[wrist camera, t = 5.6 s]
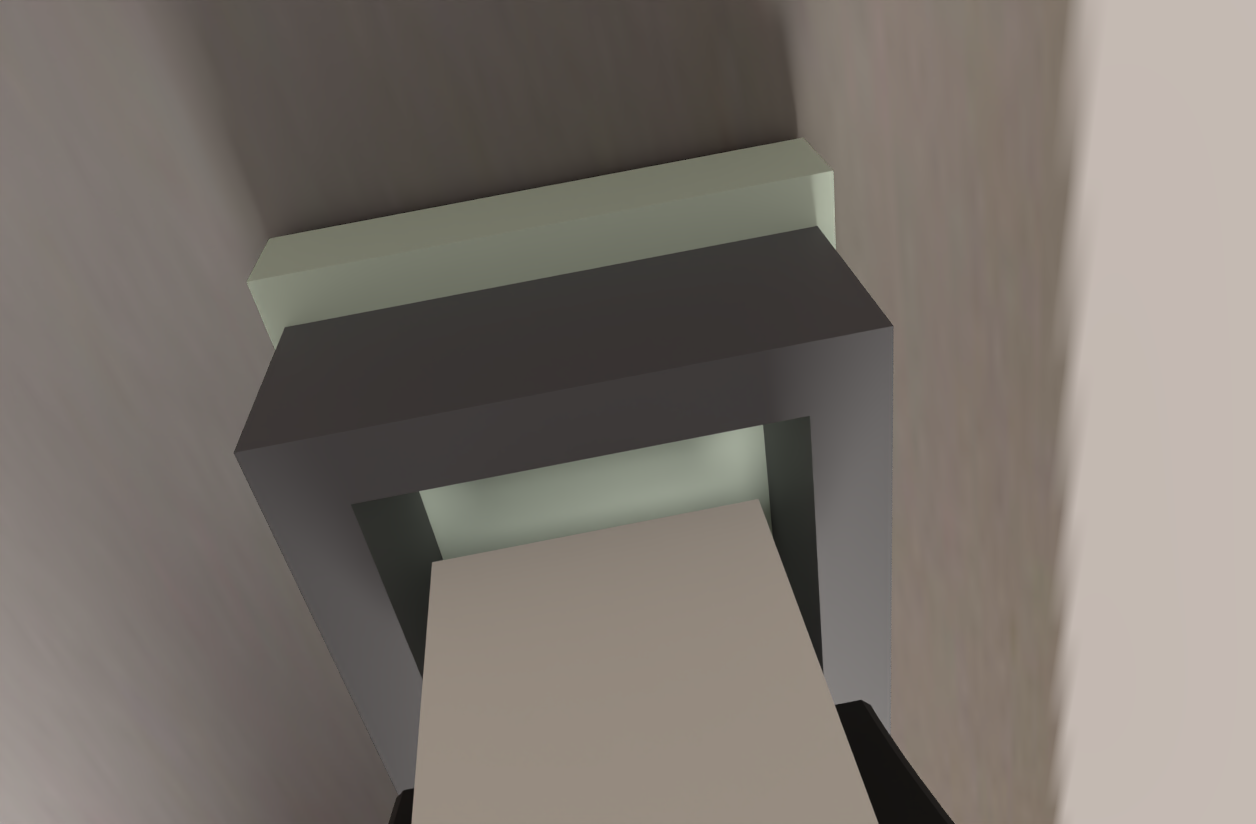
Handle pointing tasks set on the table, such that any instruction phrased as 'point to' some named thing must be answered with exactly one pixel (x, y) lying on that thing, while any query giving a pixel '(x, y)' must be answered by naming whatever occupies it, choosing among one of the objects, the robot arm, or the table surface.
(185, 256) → the table surface
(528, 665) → the plug
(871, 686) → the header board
